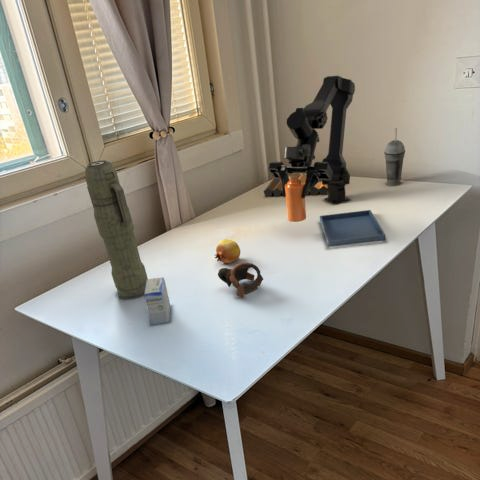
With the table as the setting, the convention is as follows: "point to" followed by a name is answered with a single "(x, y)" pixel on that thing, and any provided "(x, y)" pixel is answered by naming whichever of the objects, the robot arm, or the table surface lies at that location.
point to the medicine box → (157, 300)
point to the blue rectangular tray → (351, 228)
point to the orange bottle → (295, 199)
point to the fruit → (227, 251)
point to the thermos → (116, 228)
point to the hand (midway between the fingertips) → (293, 197)
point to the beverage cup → (394, 161)
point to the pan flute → (276, 183)
